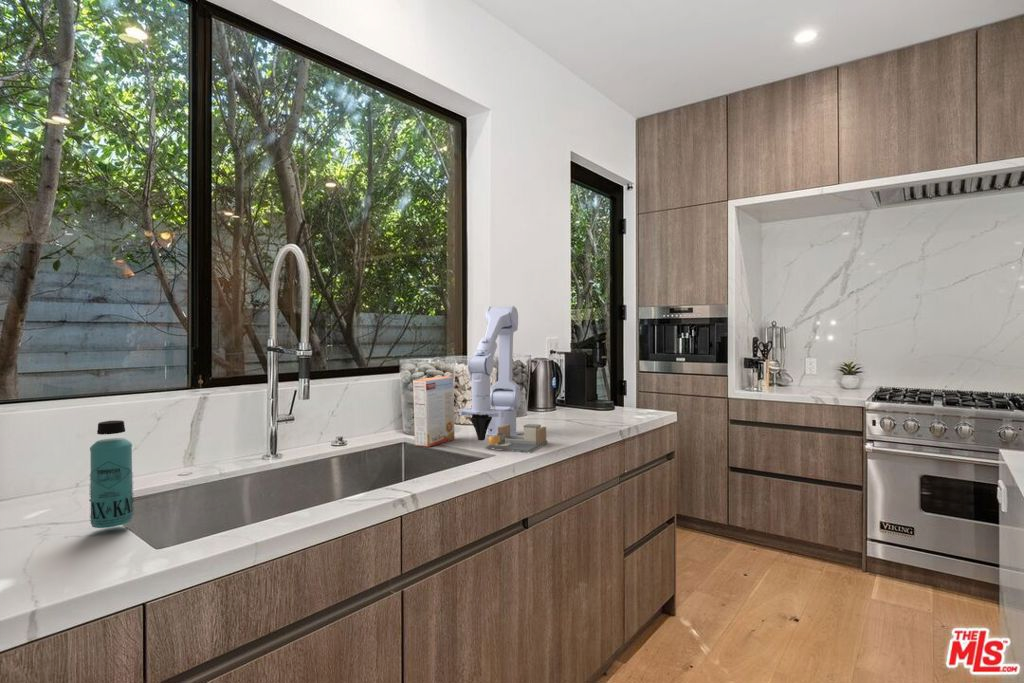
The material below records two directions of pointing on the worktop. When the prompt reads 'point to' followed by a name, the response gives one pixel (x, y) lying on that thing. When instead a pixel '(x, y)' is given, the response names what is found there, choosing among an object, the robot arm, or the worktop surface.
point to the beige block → (530, 431)
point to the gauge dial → (502, 441)
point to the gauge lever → (494, 439)
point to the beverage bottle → (111, 478)
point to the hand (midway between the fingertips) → (481, 439)
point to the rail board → (521, 440)
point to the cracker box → (433, 410)
